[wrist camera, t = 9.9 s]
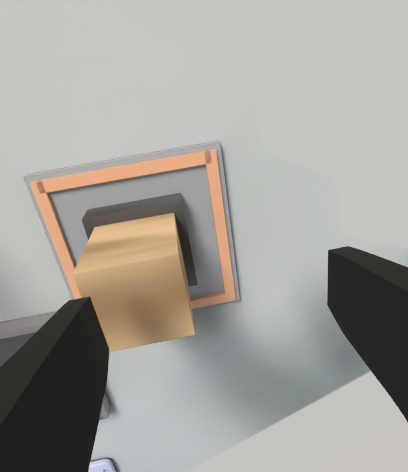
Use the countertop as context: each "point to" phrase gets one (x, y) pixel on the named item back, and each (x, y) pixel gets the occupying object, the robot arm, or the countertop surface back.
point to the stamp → (138, 271)
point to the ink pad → (19, 332)
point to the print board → (137, 188)
